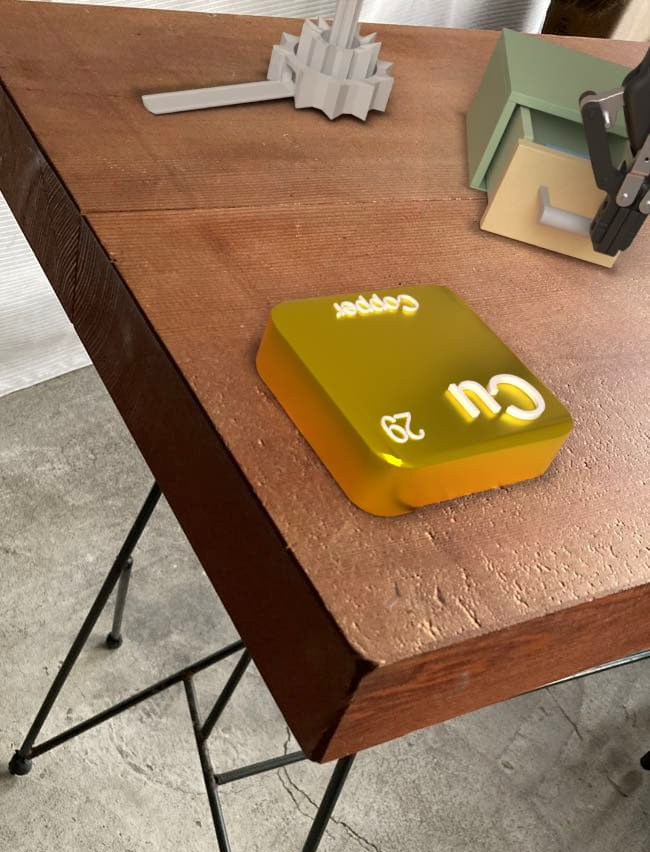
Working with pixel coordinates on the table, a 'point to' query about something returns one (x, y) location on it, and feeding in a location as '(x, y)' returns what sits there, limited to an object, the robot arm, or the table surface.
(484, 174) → the cabinet
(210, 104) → the mechanical component
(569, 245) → the drawer
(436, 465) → the element tile
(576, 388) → the table surface
